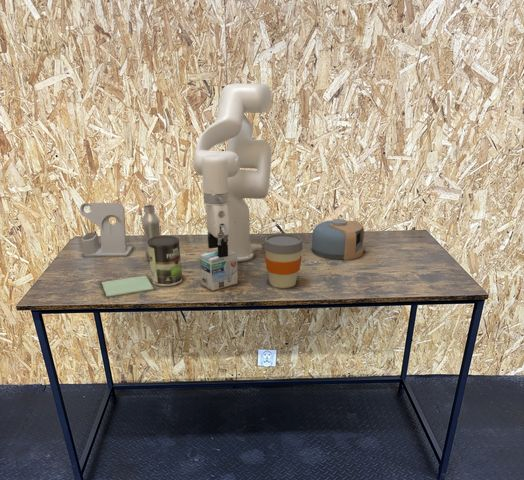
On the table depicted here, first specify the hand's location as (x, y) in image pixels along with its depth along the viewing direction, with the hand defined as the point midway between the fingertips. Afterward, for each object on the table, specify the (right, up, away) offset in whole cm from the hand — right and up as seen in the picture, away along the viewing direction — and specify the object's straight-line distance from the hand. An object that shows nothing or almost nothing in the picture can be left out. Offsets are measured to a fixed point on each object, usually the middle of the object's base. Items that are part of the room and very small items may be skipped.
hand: (218, 252), depth 160 cm
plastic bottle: (-26, +2, +26) cm, 37 cm away
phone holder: (-46, +6, +33) cm, 57 cm away
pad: (-30, -11, +4) cm, 33 cm away
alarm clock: (+44, +7, +35) cm, 56 cm away
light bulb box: (0, -10, +6) cm, 12 cm away
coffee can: (-18, -8, +9) cm, 22 cm away
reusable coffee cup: (+21, -9, +8) cm, 24 cm away
